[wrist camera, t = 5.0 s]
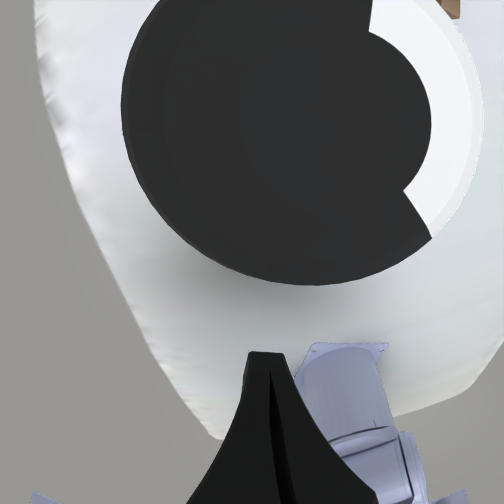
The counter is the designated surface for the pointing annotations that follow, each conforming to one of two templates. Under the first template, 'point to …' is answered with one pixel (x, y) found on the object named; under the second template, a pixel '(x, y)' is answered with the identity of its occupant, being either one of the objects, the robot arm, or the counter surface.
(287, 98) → the medicine bottle
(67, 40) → the counter surface
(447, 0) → the wooden tray
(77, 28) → the counter surface
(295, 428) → the robot arm
